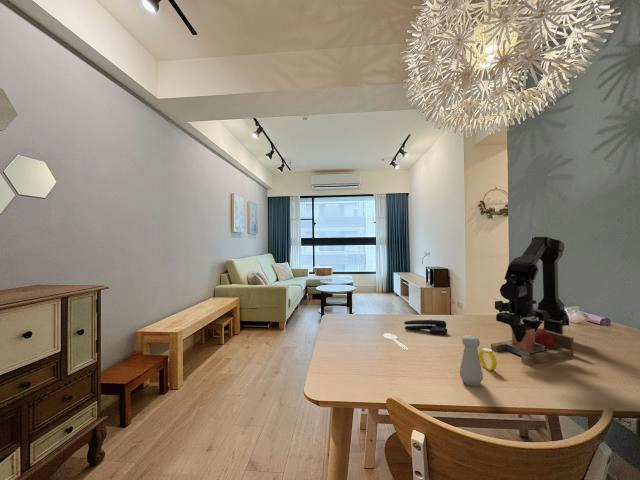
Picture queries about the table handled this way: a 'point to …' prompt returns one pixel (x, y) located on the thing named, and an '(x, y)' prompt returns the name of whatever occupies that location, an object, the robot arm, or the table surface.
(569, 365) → the table surface
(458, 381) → the table surface
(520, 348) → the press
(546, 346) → the onion
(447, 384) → the table surface
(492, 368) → the watch
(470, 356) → the salt shaker
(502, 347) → the bench
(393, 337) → the spoon
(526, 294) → the robot arm
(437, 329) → the can opener
